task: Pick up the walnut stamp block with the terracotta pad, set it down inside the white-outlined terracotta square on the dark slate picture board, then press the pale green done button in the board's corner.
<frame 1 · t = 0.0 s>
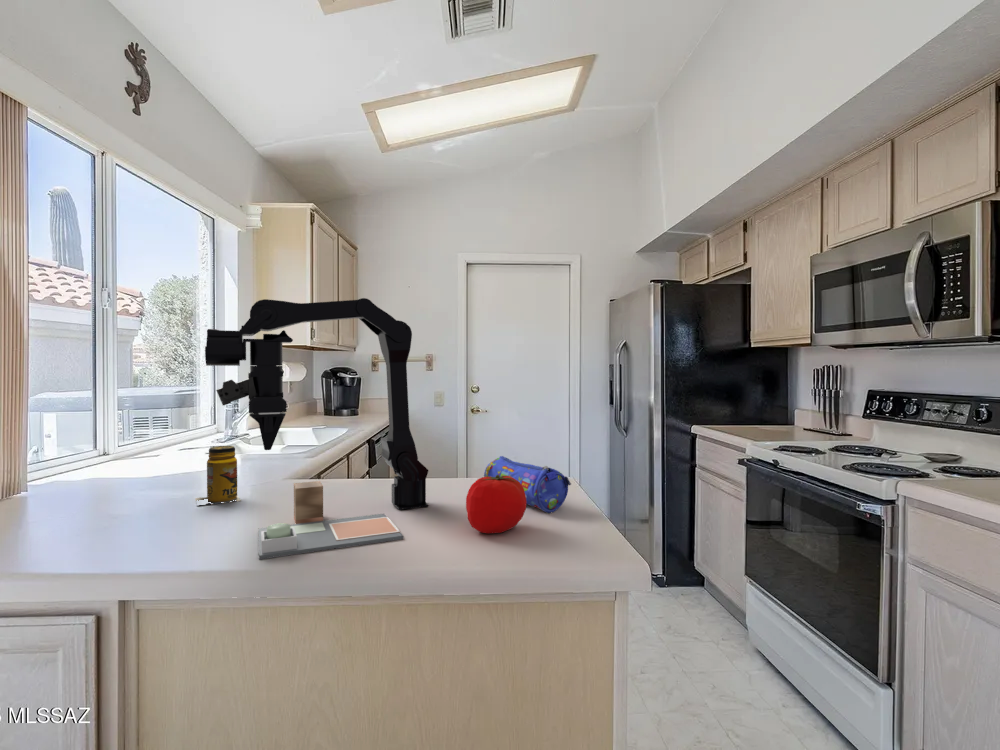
hand: (267, 446, 102), 15 cm above the table, tool pointing down, fingers open, 9 cm apart
picture board: (329, 535, 94), on the table
tomato: (495, 530, 98), on the table
pencil case: (524, 503, 117), on the table
done button: (278, 532, 87), point 3 cm above the table, slide at 0.0 cm
stamp: (308, 520, 104), on the table
condiment: (218, 501, 118), on the table
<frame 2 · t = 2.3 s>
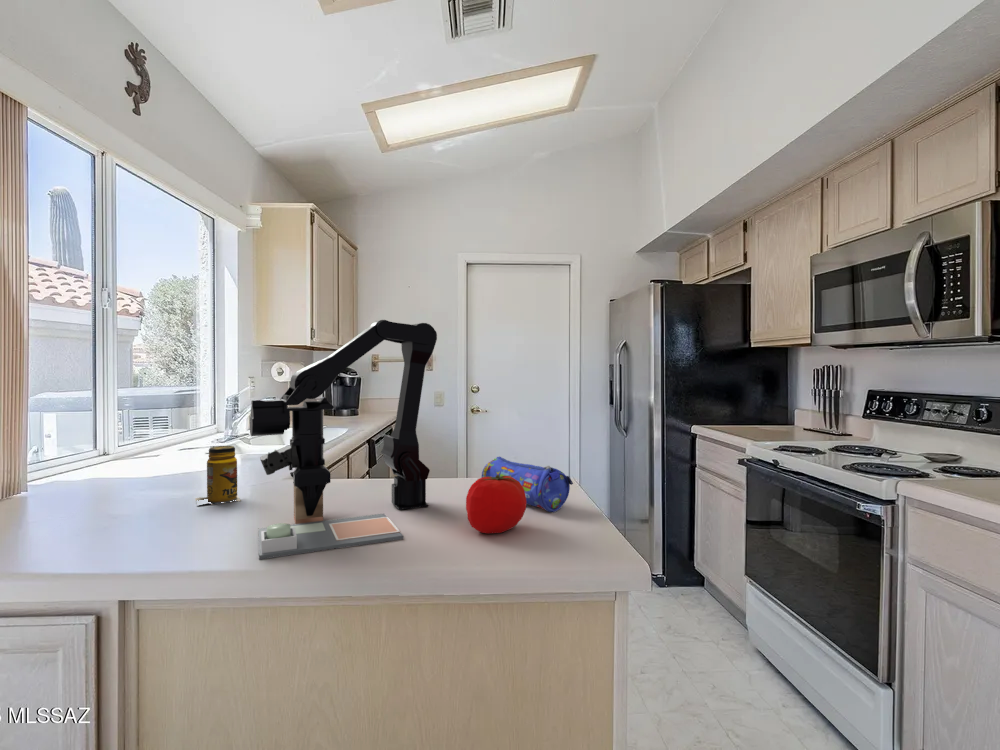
hand: (308, 512, 104), 2 cm above the table, tool pointing down, fingers closed on stamp, 5 cm apart
stamp: (308, 519, 104), on the table, touching gripper
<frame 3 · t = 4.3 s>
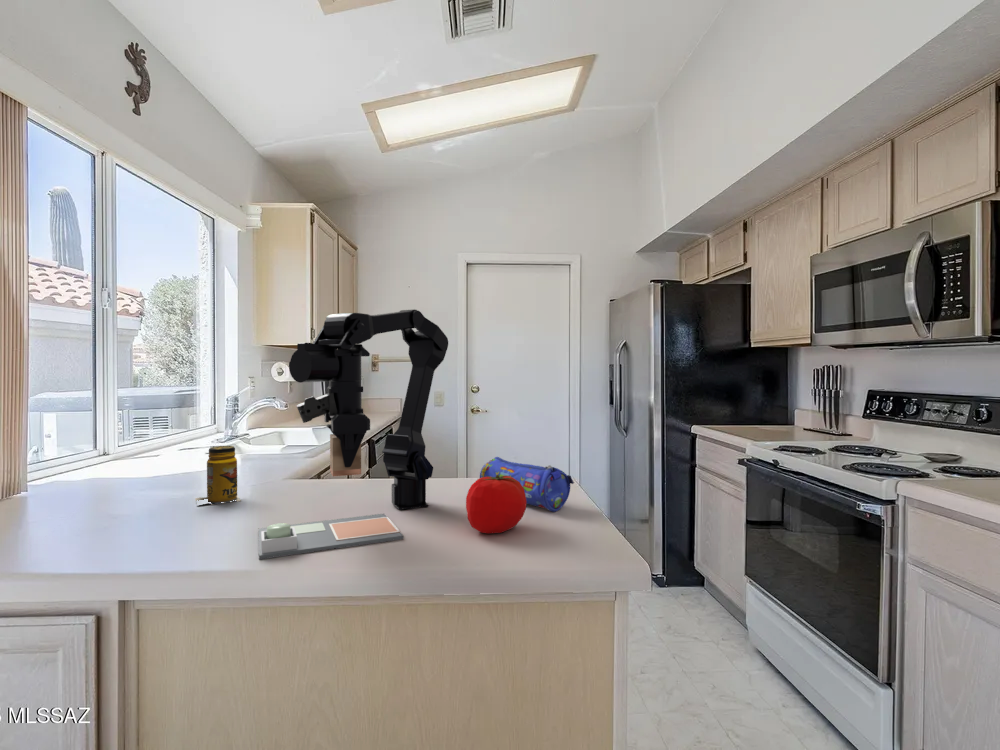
hand: (346, 464, 98), 12 cm above the table, tool pointing down, fingers closed on stamp, 5 cm apart
stamp: (345, 472, 98), point 10 cm above the table, touching gripper
everything else where it was.
when the fingers open (4 cm above the table, at t = 6.6 s): stamp drops 1 cm, resting on picture board.
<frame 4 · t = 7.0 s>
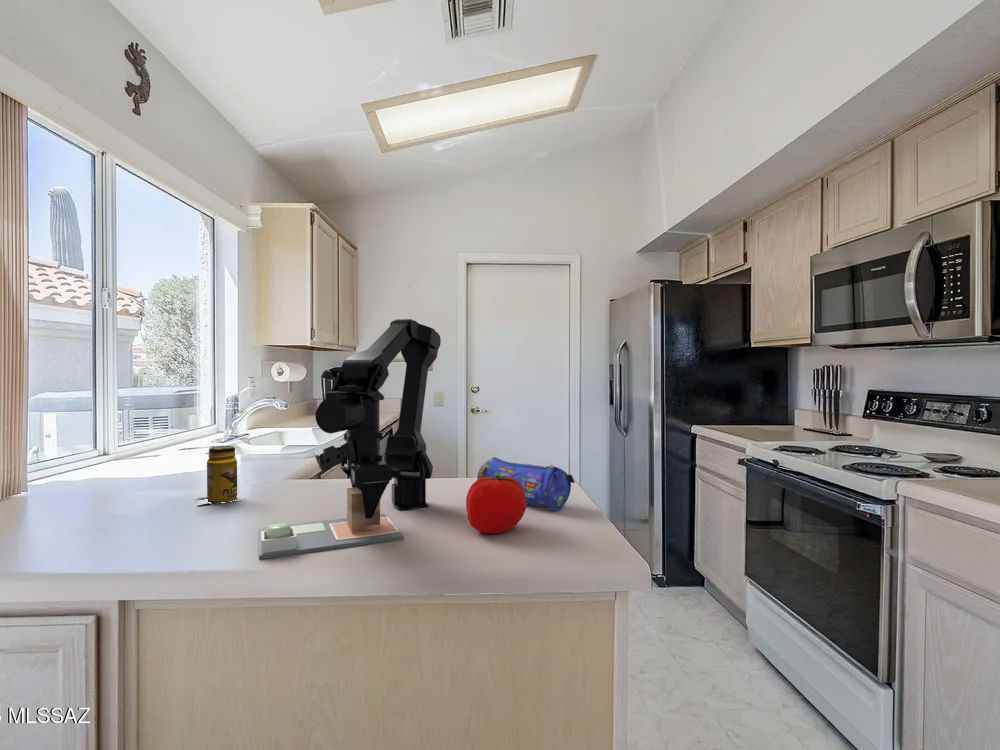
hand: (363, 511, 96), 4 cm above the table, tool pointing down, fingers open, 9 cm apart
stamp: (363, 527, 96), point 1 cm above the table, touching picture board
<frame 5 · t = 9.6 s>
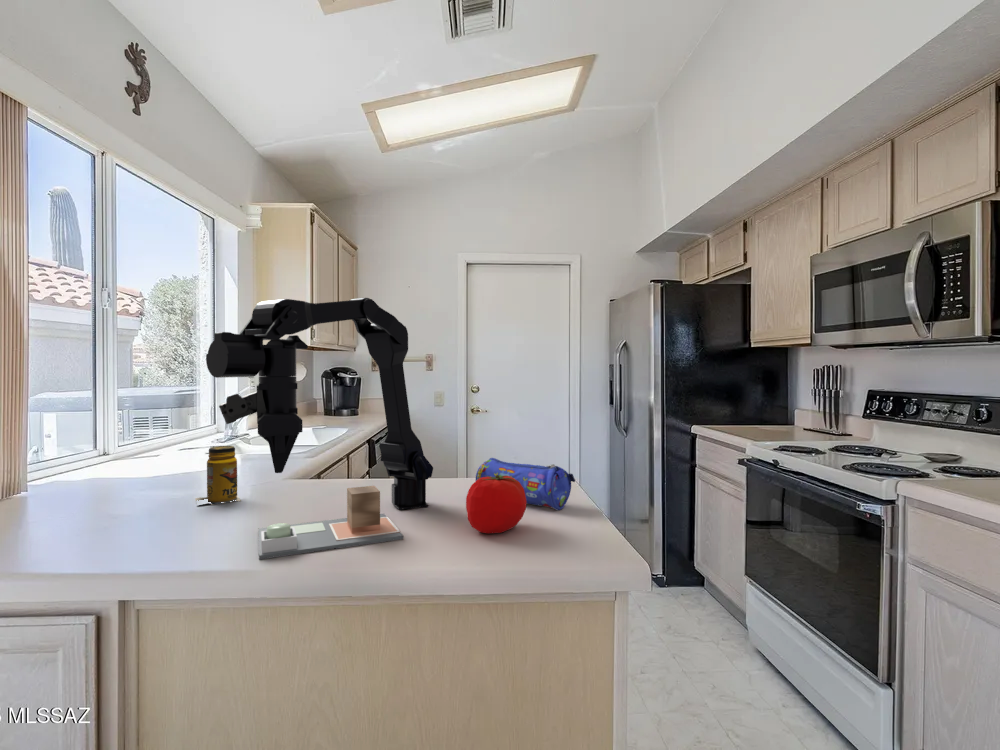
hand: (278, 471, 87), 13 cm above the table, tool pointing down, fingers open, 3 cm apart
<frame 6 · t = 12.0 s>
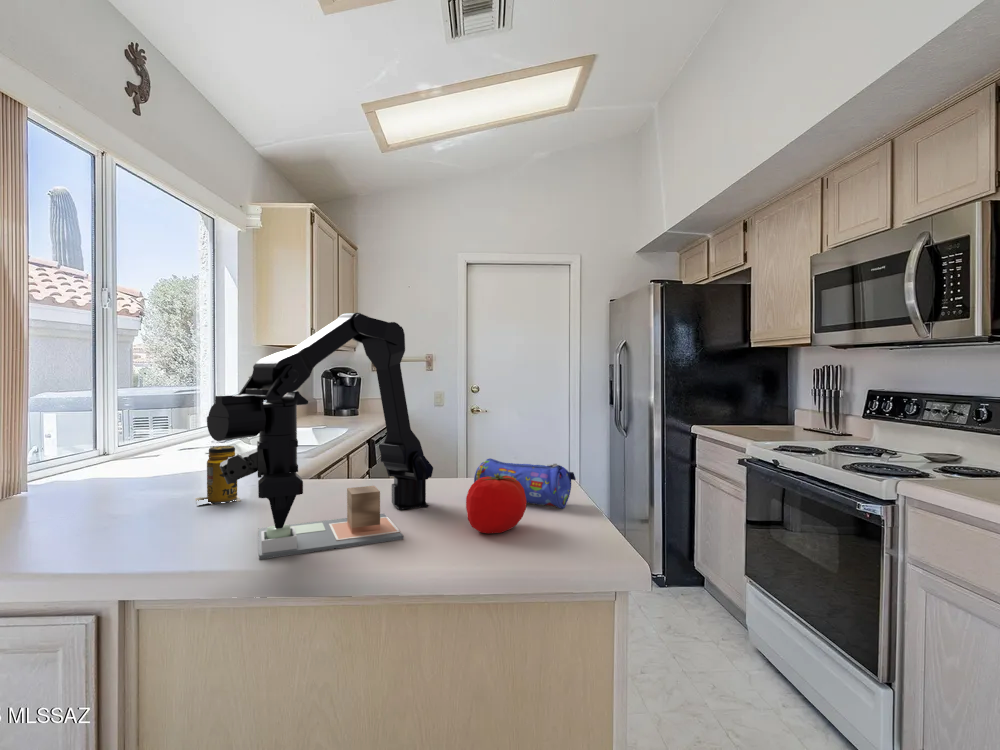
hand: (278, 527, 87), 4 cm above the table, tool pointing down, fingers closed, pressing on done button
done button: (278, 533, 87), point 3 cm above the table, slide at 0.2 cm, touching gripper
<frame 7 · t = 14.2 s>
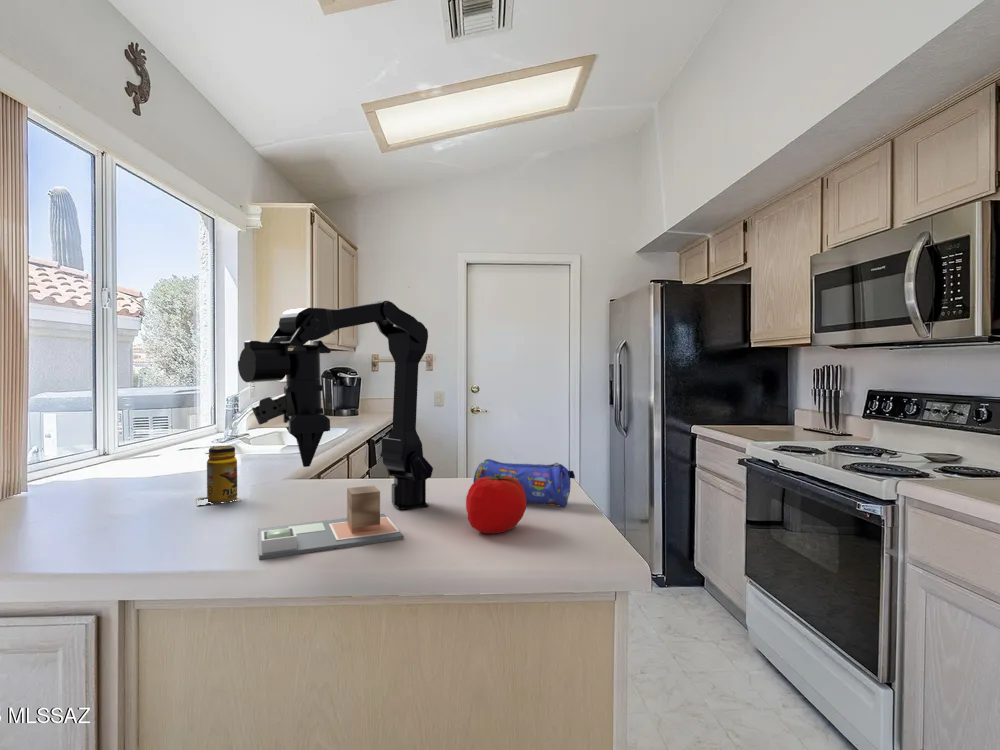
hand: (306, 466, 94), 12 cm above the table, tool pointing down, fingers closed
done button: (278, 538, 87), point 2 cm above the table, slide at 0.9 cm
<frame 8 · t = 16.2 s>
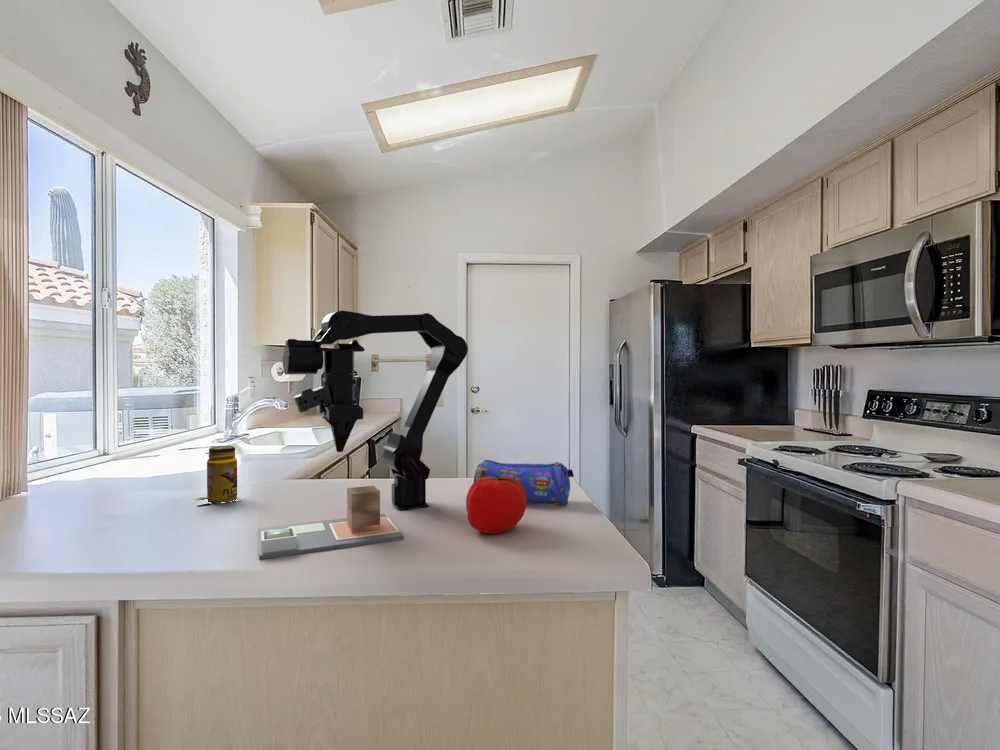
hand: (339, 451, 106), 13 cm above the table, tool pointing down, fingers closed
at the end: stamp 0.0 cm from the target spot, point 0.7 cm above the table; stamp tilted 0°; done button slide at 0.9 cm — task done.
